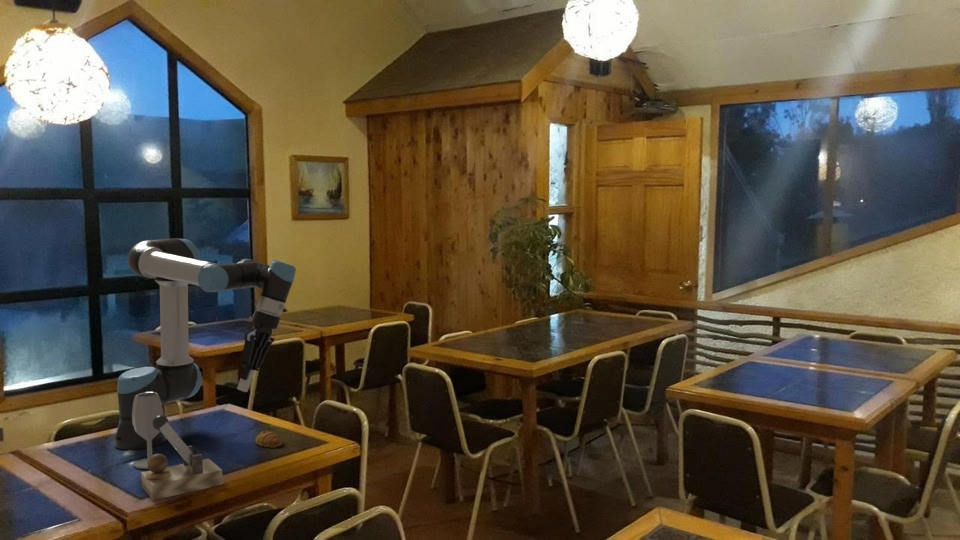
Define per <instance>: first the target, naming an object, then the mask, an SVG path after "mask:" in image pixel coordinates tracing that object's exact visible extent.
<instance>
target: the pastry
mask: <svg viewBox="0 0 960 540" xmlns="http://www.w3.org/2000/svg"><path fill="white" fill-rule="evenodd" d="M254 440H255V443H256V445H257V446H260V447H263V446H264V447H263V448H267V447H270V449H271V448H277V447H279V446H282V445H283V443H284V441H283V440H282V437H281V436H280V435H278V433H276V432H274V431H269V430H262V431H260V433H259V432H258V433H257V435H256V436H255V439H254Z"/></svg>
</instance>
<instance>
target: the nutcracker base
mask: <svg viewBox="0 0 960 540" xmlns="http://www.w3.org/2000/svg"><path fill="white" fill-rule="evenodd" d="M186 446H187V445H186ZM187 447H188V448H189V449H190V450H191V452H192V453H193V454H194V451H193V449H194V448H193V447H194V446H193V445H188V446H187ZM168 462H169V461H168V459H167V456H166V455H164V454H162V453H154V454H152V456H151V457H150V458H149V460H148V463H147V466H148V469H147V470H146V471H141V472H140V479H141V488H142V489H143V490H144V491H145V493H146V494H147V495H148V496H149V498H150V499H151V500H152V501H156V500H161V499H165V498H170V497H173V496H178V495H183V494H188V493H190V492H195V491H200V490H205V489H208V488H209V489H210V488H213V487H217V486H222V485H223V484H224V479H223V469H222V468H221V467H220V466H219V465H217V464H216V463H215V462H214V461H212V460H211V459H210V458H205V459H203V454H202V453H197V454H194V455H193V456H192V466H190V465H189V464H188V463H187V462H186V461H185V460H184V459H183V458H182V463H179V464H176V465H175V464H174V465H170V466H168Z"/></svg>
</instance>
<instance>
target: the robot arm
mask: <svg viewBox="0 0 960 540" xmlns="http://www.w3.org/2000/svg"><path fill="white" fill-rule="evenodd" d="M127 265H128V267H129V269H130V270H131V272H132V273H134V274H135V275H136V276H139V277H142V278H147V279H154V281H155V283H157V284H158V285H159V307H160V308H159V310H160V311H159V312H160V317H159V318H160V357H159V358H158V359H157V360H156V364H155V367H154V366H142V367H135V368H132V369H128V370H126V371H124V372H123V373H121V374H119V376H118V378H117V388H116V390H117V391H116V392H117V398H118V399H117V400H118V414H119V422H118V426H117V428H116V432H115V436H114V447H115V448H116V449H120V450H140V449H147V440H145V439H144V438H142V437H141V436H140V435H138V434H137V433H136V432H135V429H134V426H133V423H132V409H133V402H134V398H135V395H137V394H140V393H145V392H156V393H158V395H159V397H160V400H161V404H162V406H163V405H167V404H171V403H174V402H178V401H185V400H186V399H189V398H191V397H193V396H195V395H196V394H197V393H198V391H199V390H200V388H201V385H202V380H203V377H202V372H201V371H200V367H199V366H198V365H197V364H196V363H195V362H194V360H195V359H193V358H192V357H191V356H190V354H189V353H190V352H189V350H190V349H189V347H190V346H189V344H190V343H189V291H188V290H189V285H193V286H197V287H199V288H201V289H202V291H203V292H206V293H219V292H223V291H226V292H227V291H232V290H239V289H240V290H241V289H246V288H247V289H248V288H256V289H259V290H261V293H260V296H259V299H258V302H257V304H256V306H255V307H256V310H254V313H253V316H252V318H251V322H252V323H253V324H254V325H253V327H252V329H251V332H250V333H248V332H246V333H245V334H244V344H243V349H242V354H241V360H240V367H242V368H243V370H242V373H241V375H240V379H239V381H238V384H237V388H236V389H237V390H238V391H241V392H244V393H247V392H248V391H249V388H250V385H251V382H252V379H253V376H254V374H255V371H257V372H259V370H260V368H261V367H262V365H263V363H264V360H265V358H266V356H267V354H268V352H269V350H270V348H271V346H272V344H273V343H274V342H275V338H274V337H272V333H273V330H277V329H278V327H279V323H280V320H281V317H280V316H282V314H283V311H284V309H286V307H285V306H286V302H287V299H288V296H289V293H290V292H291V288H292V286H293V283H294V280H295V275H296V272H297V269H296V267H295V266H294V265H292V264H289V263H286V262H283V261H279V260H275V259H274V260H272V261H271V264H266V263H263V262H261V261H258V260H255V259H249V258H242V259H240V260H239V261H238V262H237V263H226V264H225V263H224V264H223V263H222V264H220V263H217V262H211V261H206V260H203V259H201V255H200V252H199V250H198V248H197V246H195V244H194V243H193V242H192V241H191V240H189V239H187V238H164V239H162V238H161V239H153V240H152V239H147V240H142V241H139V242H138V243H136V244H134V245H133V246H132V247H131V249H130V250H129V252H128V254H127ZM166 440H167V439H166V437H165V436H164V435H163V434H162V433H161V432H159V433H158V434H157V435H156V436H155V437H154V438H153V439H152V447H156V446H158V445H161V444H163V443H164V442H166Z"/></svg>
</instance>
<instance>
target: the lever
mask: <svg viewBox="0 0 960 540" xmlns="http://www.w3.org/2000/svg"><path fill="white" fill-rule="evenodd" d="M163 415H164V414H163ZM163 415H159V416H156V417H155V418H154V419H153V422H152V425H153V427H154V429H156V430H159V431H161V433H162V434H163V435H164V436H165V437H166V440H167V441H168V443H170V445H171V446H172V447H173V449H175V451H176V452H177V453H178V454H179V456H181V458H182V460H183V459H184V460H185V461H186V462H187V463H188V464H189V465H190V466H192V456H193V455H195V454H194V452H193V453H192V452H191V450H190V449H189V448H188V447H187V444H186V443H185V441H183V440H182V438H181V436H180V435H178V434H177V432H176V431H175V430H174V429H173V427H172V426H171V425H170V424H169V418H168V417H167V416H166V415H164V416H163Z"/></svg>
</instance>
